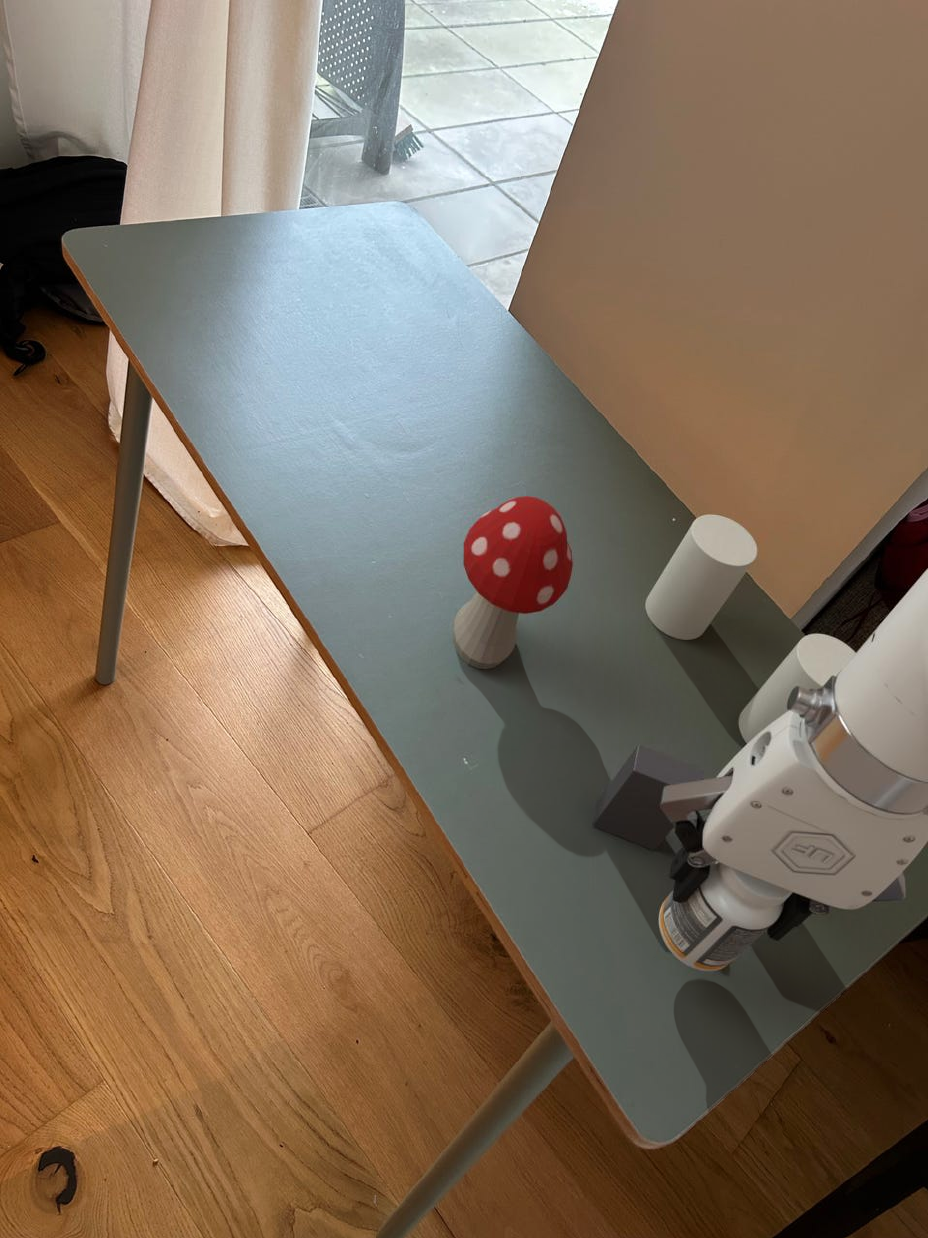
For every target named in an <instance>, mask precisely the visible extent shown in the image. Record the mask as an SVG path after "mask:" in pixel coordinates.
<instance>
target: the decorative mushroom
mask: <svg viewBox="0 0 928 1238" xmlns="http://www.w3.org/2000/svg"><path fill="white" fill-rule="evenodd" d="M573 563H574V562H573V552H572V549H571V546H570V543H569V541H568V533H567V529H566V527H565V524H564V521H563V519H562V517H561V515H560V514H559V512H558V511H557V510H556V509H555V507H553V506H552V505H551V504H549V502H547V501H545V500H543V499H541V498H539V497H536V496H531V495H525V496H516V497H513V498H511V499H509V500H507V501H505V502H502V503H501V504H500V505H498V506H497V507H496V508H494V509H491V510H489V511H486V512H484V513H483V514H482V515H481V516H480V517H479V518H478V519H477V520H476V521H475V522H474V523H473V524H472V526H471V527H469V530H468V531H467V534H466V536H465V538H464V541H463V563H462V564H463V567H464V571H465V574H466V576H467V580H468V581H469V583H470V584H471V585H472V587H473V588H474V589H475V591H476V592H475V594H474V596H472V598H471V599H470V600H468V602H466V603H465V604H463V605H462V606H461V608H460V609H459V610H458V612H457V613H456V615H455V618H454V620H453V644H454V647H455V651H456V653H457V654H458V656H459V657H460V659H461V660H462V661H463V662H465V663H466V664H467V665H468V666H471V667H473V668H475V669H480V670H488V669H493V668H495V667H497V666H498V665H499V664H501V663H502V662H504V661H505V660H506V659H507V658H508V657H510V655H511V653H512V652H513V651H514V649H515V648H516V647H515V645H516V643H517V625H518V619H519V615H520V614H523V615H527V614H533V613H540V612H543V611H544V610H546V609H548V608H550V607H551V606H553V605H554V604H555V603H556V602H557V601H558V600H559V599H560V598H561V597H562V596H563V594H564V593H565V592H567V590H568V587H569V584H570V580H571V577H572V572H573V567H574V564H573Z"/></svg>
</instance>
